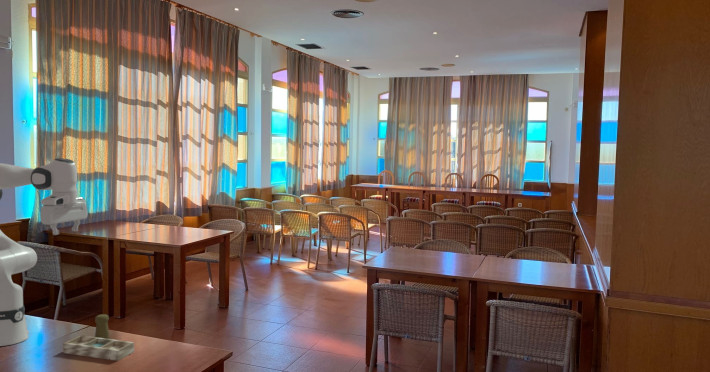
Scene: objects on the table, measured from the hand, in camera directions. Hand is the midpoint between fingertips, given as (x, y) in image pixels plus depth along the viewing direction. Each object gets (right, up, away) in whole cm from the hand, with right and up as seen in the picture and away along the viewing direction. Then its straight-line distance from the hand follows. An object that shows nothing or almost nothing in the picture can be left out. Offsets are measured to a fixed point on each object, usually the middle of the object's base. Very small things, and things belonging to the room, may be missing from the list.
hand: (65, 232), depth 205 cm
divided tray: (+14, -48, 0) cm, 50 cm away
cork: (+8, -48, +13) cm, 50 cm away
